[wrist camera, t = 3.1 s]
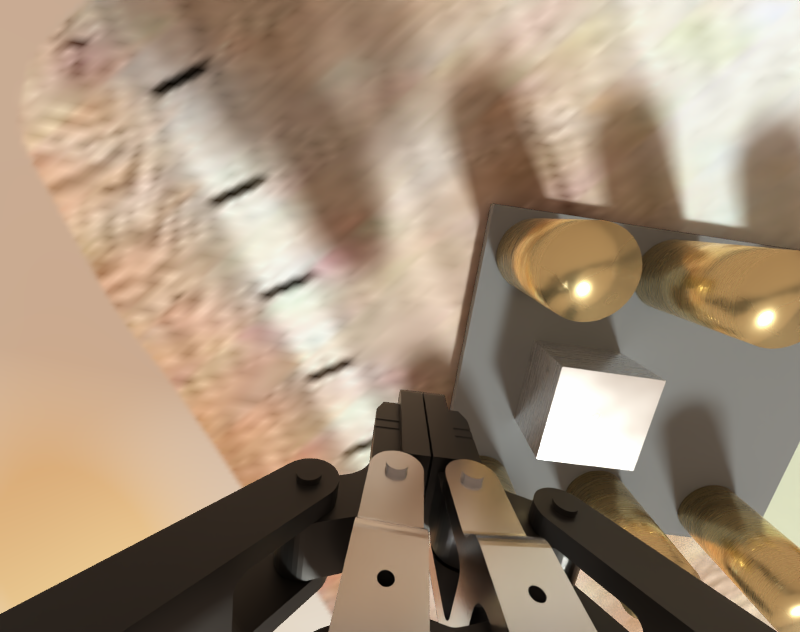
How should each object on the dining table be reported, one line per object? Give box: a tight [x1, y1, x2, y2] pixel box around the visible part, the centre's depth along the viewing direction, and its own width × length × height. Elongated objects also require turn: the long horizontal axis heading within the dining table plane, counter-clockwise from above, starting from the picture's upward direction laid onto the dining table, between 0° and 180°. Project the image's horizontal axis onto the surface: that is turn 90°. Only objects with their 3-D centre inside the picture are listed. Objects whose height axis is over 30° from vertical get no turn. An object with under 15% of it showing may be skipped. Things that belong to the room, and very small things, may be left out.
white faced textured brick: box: [514, 340, 666, 471], centre depth 16 cm, size 4×4×3 cm
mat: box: [450, 204, 800, 548], centre depth 18 cm, size 23×15×1 cm, turn 82°
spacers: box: [480, 218, 800, 632], centre depth 15 cm, size 15×14×5 cm
